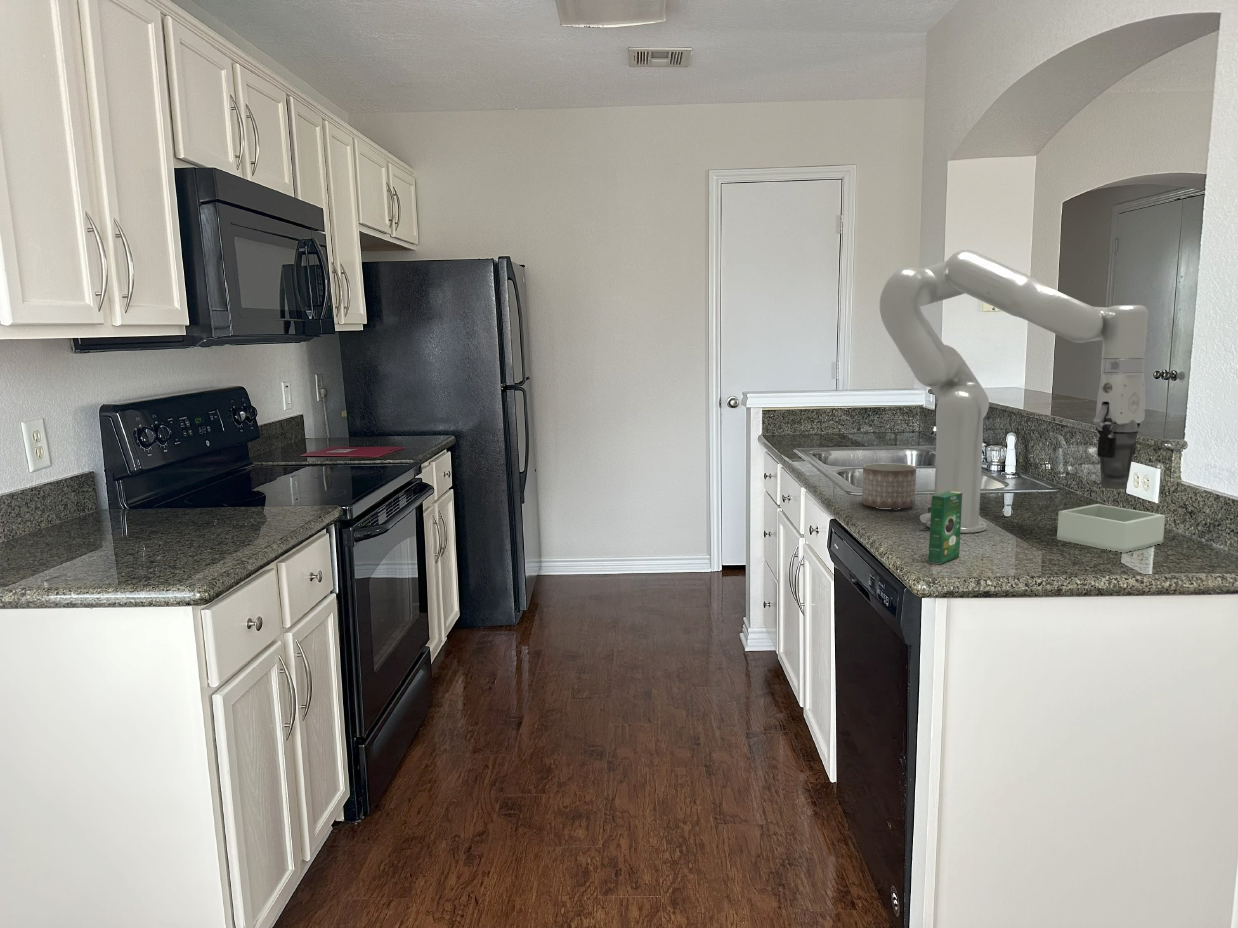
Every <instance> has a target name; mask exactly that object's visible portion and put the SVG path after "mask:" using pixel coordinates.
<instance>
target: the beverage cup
mask: <svg viewBox="0 0 1238 928" xmlns="http://www.w3.org/2000/svg"><path fill="white" fill-rule="evenodd" d="M1105 422H1113V421H1112V420H1106V421H1105ZM1107 427H1108V429H1109V430H1110V427H1111V426H1107ZM1137 433H1138V434H1139V427H1138V426H1137V423H1136V421H1135V420H1131V421H1130V422H1129V423H1127V424H1125V425H1118V424H1117V426H1116V431H1115V434H1114V437H1113V438H1116V443H1115V456H1114V458H1107V457H1099V460H1100V461H1099V465H1100V468H1099V469H1100V470H1099V471H1100V481H1101V482H1100V483H1101V488H1103V489H1108V490H1109V489H1110V490H1111V489H1112V490H1124V489H1125V490H1126V489H1127V488H1128V486H1127V485H1128V482H1129V479H1130V472H1131V465H1132V461H1133V450H1134V444H1135V442H1136V443H1137V438H1138V434H1137ZM1097 437H1098V436H1097ZM1098 439H1099V437H1098Z"/></svg>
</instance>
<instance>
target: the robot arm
mask: <svg viewBox="0 0 1238 928" xmlns="http://www.w3.org/2000/svg"><path fill="white" fill-rule="evenodd" d="M965 294H966V295H968V296H970V297H972V298H974V299H976V300H979V301H981V302H984V303H985V304H988V305H989V306H992V307H993V308H996V309H998V310H1000V311H1002V312H1004V313H1006V314H1009V315H1011V316H1013V317H1016V318H1020V319H1023V320H1025V321H1027V322H1029V323H1031V324H1034V325H1036V326H1038V327H1040V328H1042V329H1044V330H1047V331H1048V332H1050V333H1053V334H1055V335H1057V336H1059V337H1061V338H1063V339H1064V340H1068V341H1070V342H1073V343H1076V344H1079V343H1080V344H1082V343H1083V344H1084V343H1088V342H1094V341H1095V342H1096V341H1102V348H1101V361H1100V375H1101V376H1100V381H1099V386H1098V393H1097V399H1096V413H1095V414H1096V415H1095V416H1094V418H1093V424H1094V425H1095V430H1096V431H1097V434H1096V436H1097V437H1099V438H1098V440H1097V441H1098V442H1097V453H1096V454H1097V457H1099V458H1100V457H1107V458H1114V456H1115V443H1116V438H1113V437H1114V434H1115V431H1116V426H1117V424H1118V425H1125V424H1127V423H1129V422H1130V421H1131V420H1135V421H1136V423H1137V426H1138V428H1139V427H1140V426H1141V423H1142V422H1143V421H1144V420H1145V415H1146V381H1145V373H1144V372H1145V362H1146V361H1145V360H1146V350H1147V349H1146V348H1147V347H1146V346H1147V335H1148V318H1149V311H1148V308H1147V307H1146V306H1145V305H1140V304H1127V305H1126V304H1122V305H1111V306H1109V307H1103V306H1092V305H1090V304H1088V303H1085V302H1082V301H1080V300H1079V299H1076V298H1073V297H1072V296H1069V295H1067V294H1066V293H1065V294H1064V293H1063V292H1060V291H1058V290H1056V289H1054V288H1052V287H1050V286H1048V285H1046V284H1043V283H1042V282H1040V281H1039V280H1037V279H1036V278H1035V277H1032V276H1030V275H1028V274H1026V273H1025V272H1021V271H1019V270H1017V269H1015V268H1013V267H1010V266H1008V265H1006V264H1005V263H1004V264H1003V263H1001V262H999V261H996V260H995V259H993V258H991V257H988V256H986V255H983V254H981V253H979V252H977V251H973V250H971V249H963V250H961V249H960V250H958V251H956V252H955V253H953V254H952V255H951V256H950V257H949V258H948V259H947V260H945V261H941V262H938V263H934V264H932V265H928V266H925V267H921V268H919V267H915V266H905V267H902V268H900V269H898V270H896V271H895V272H893V274H892V275H890V277H889V278H888V280H887V281H886V283H885V284H884V286H883V287H882V291H881V294H880V298H879V314H880V318H881V321H882V323H883V326H884V328H885V330H886V331H887V333H888V335H889V336H890V338H891V340H892V341H893V343H894V344H895V346H896V347H897V349H898V351H899V353H900V355H901V356H902V358H903V359H904V360H905V362H906V363H907V366H908V367H909V368H910V370H911V372H912V374H913V375H914V377H915V379H916V380H917V381H918V382H919V383H920V384H921V385H923V386H925V387H927V388H930V390H931V391H932V393H933V394H934V396H935V397H936V399H937V400H938V401H937V404H936V405H937V406H936V407H935V408H936V409H935V411H936V412H935V428H936V429H935V432H936V435H935V436H936V439H935V441H936V445H935V470H934V491H933V492H934V493H933V495H936V494H940V493H944V492H948V491H957V492H962V510H961V530H960V534H962V533H963V534H964V533H967V534H969V533H978V532H983V531H985V530H986V529H987V523H986V522H985V521H982V520H980V504H981V483H982V465H983V462H982V461H983V437H984V435H983V434H984V433H983V431H984V427H983V425H984V418H985V417H986V415H987V413H988V412H989V408H990V401H989V397H988V395H987V392H986V391H985V389H984V387H983V386H982V385H981V383H980V382H979V380H978V379H977V377H976V375H975V374H974V372H973V371H972V370H971V368H970V367H969V366H968V364H967V362H966V360H964V358H963V356H962V355H961V354H960V352H958V351H957V350H956V349H955V348H954V347H952V346H950V345H947V344H944V342H943V341H942V340H941V338H940V337H939V335H938V334H937V332H936V331H935V329H934V327H933V326H932V325H931V323H930V322H929V320H928V318H927V317H926V316H925V315H924V313H923V312H922V309H921V307H923V306H928V305H931V304H934V303H938V302H942V301H944V300H945V301H946V300H949V299H951V298H955V297H958V296H961V295H965ZM1106 420H1112V421H1113V422H1105V421H1106ZM1107 426H1111V427H1110V430H1109V429H1108V427H1107ZM1137 435H1139V433H1137ZM1136 444H1137V441H1136V442H1135V444H1134V450H1133V455H1135V454H1136V446H1137V445H1136ZM930 519H931V511H930V512H926V513H922V514H921V515H920V516H919V520H920V522H921V523H922V524H925V525H926V527H927V528H929V529H930Z"/></svg>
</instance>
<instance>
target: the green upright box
mask: <svg viewBox="0 0 1238 928" xmlns="http://www.w3.org/2000/svg"><path fill="white" fill-rule="evenodd" d="M930 499H931V502H930V503H931V504H930V512H931V519H930V528H929V542H928V560H927V562H928V563H932V564H936V565H942V564H946V563H947V562H949V561H952V560H955V559H957V558H959V557H960V549H961V548H960V546H961V533H960V530H961V510H962V492H957V491H948V492H944V493H940V494H936V495H934V494H932V495H931V498H930Z"/></svg>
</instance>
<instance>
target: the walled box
mask: <svg viewBox="0 0 1238 928" xmlns="http://www.w3.org/2000/svg"><path fill="white" fill-rule="evenodd" d="M1165 520H1166V515H1165V514H1160V513H1156V512H1155V513H1154V512H1148V511H1142V510H1136V509H1130V508H1125V507H1118V506H1112V505H1105V504H1100V503H1096V504H1095V503H1094V504H1091V505H1090V504H1089V505H1085V506H1079V507H1075V508H1069V509H1065V510H1058V518H1057V532H1056V533H1057V534H1056V540H1058V541H1063V542H1068V543H1072V544H1078V545H1082V546H1088V547H1093V548H1097V549H1101V550H1106V549H1107V550H1106V551H1110V550H1111V552H1115V551H1118V552H1117V553H1120V552H1122V553H1121V554H1126V552H1128V553H1130V552H1129V551H1132V552H1135V551H1134V550H1136V551H1139V550H1138V549H1140V550H1143V548H1144V549H1147V548H1146V547H1148V548H1150V547H1149V546H1152V547H1155V546H1154V545H1156V546H1158V545H1157V544H1160V545H1162V544H1161V543H1163V544H1164V533H1165V523H1166V521H1165Z"/></svg>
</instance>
